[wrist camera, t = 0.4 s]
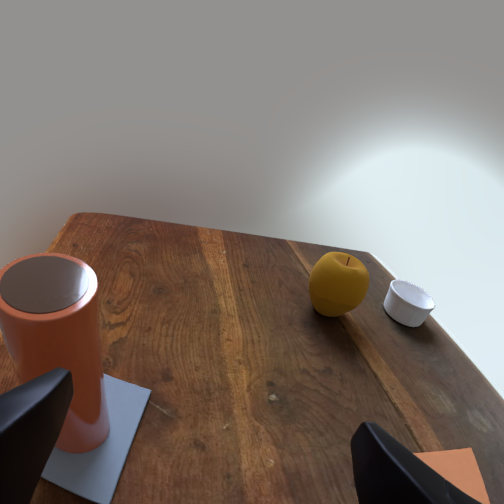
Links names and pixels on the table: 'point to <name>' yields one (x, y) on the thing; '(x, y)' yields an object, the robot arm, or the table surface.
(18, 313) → the terracotta pot
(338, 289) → the apple
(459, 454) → the terracotta mat
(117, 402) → the slate mat
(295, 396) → the table surface
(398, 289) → the ramekin
